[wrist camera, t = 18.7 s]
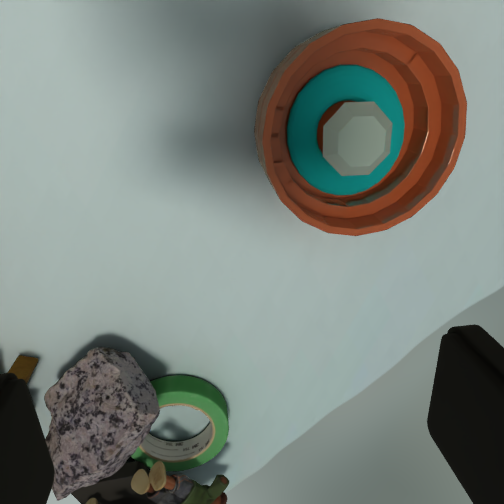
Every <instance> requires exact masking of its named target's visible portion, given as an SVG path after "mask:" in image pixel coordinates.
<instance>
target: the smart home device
mask: <svg viewBox="0 0 504 504" xmlns="http://www.w3.org/2000/svg"><path fill="white" fill-rule="evenodd" d="M139 469H144V470H145V472H146V473H147V475H148V477H149V473H150V471H149V470H148V468H147V467H146V466H145V465H144V464H143V463H142V462H140V461H134V462H129V463H125V464H124V465H123V466H122V467H121V468H120V469H119V470H118V471H117V472H116V473H114V474H113V475H112V476H110V477H106V478H103V479H100V480H99V481H98V482H97V483H96V484H94V485H90V486H87V487H82V488H80V489H78V490H75V491H73V492H72V493H71V494H72V495H73V496H74V497H75V498H76V499H77V500H78V501H79V502H80V503H81V504H86V503H87V501H88V500H89V499H91V498H96V499H97V501H98V504H157V503H155V502H153V501H152V500H151V499H149V498H148V497H147V495H146V493H144V494H139V493H137V492H135V491H134V490H133V489H132V487H131V481H132V478H133V476H134V474H135V473H136V472H137V471H138V470H139Z"/></svg>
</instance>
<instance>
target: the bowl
mask: <svg viewBox="0 0 504 504" xmlns="http://www.w3.org/2000/svg"><path fill="white" fill-rule="evenodd" d="M339 65H359V66H363V67H366V68H369V69H372V70H374V71H375V72H377V73H378V74H379V75H381V76H382V77H384V78H385V79H386V80H387V81H388V83H389V84H390V85H391V86H392V88H393V89H394V90H395V91H396V93H397V96H398V98H399V101H400V103H401V105H402V108H403V115H404V122H405V127H404V139H403V143H402V146H401V150H400V153H399V156H398V158H397V160H396V161H395V163H394V165H393V166H392V168H391V170H390V171H389V172H388V173H387V174H386V175H385V176H384V177H383V178H382V179H381V180H380V181H379V182H378V183H377V184H375V185H373V186H372V187H370V188H369V189H367V190H365V191H362V192H359V193H356V194H353V195H333V194H329V193H325V192H322V191H320V190H318V189H317V188H315V187H313V186H311V185H310V184H309V183H308V182H307V181H306V180H305V179H304V178H303V177H302V176H301V175H300V174H299V172H298V170H297V169H296V167H295V165H294V163H293V162H292V160H291V156H290V152H289V149H288V145H287V124H288V119H289V115H290V110H291V108H292V106H293V104H294V102H295V100H296V98H297V96H298V93H299V92H300V91H301V90H302V89H303V88H304V86H305V85H306V84H307V83H308V82H309V81H310V80H311V79H312V78H314V77H315V76H316V75H318V74H319V73H321V72H322V71H324V70H326V69H329V68H332V67H335V66H339ZM345 102H355V101H352V100H348V101H341V102H338V103H335V104H334V105H332V106H331V107H329V108H328V109H327V110H326V111H325V113H324V114H323V115H322V117H321V119H320V121H319V124H318V128H317V141H318V146H319V148H320V150H321V152H322V154H323V126H324V125H325V124H326V123H327V121H328V120H329V119H330V118H331V117H332V116H333V115H334V114H335V113H336V112H337V111H338V109H339V108H340V107H341V106H342V105H343V104H344V103H345ZM466 102H467V101H466V97H465V93H464V90H463V86H462V82H461V78H460V74H459V71H458V69H457V67H456V66H455V65H454V63H453V62H452V60H451V59H450V57H449V56H448V54H447V53H446V52H445V50H444V49H443V47H442V46H441V44H439V43H438V42H437V41H435V40H434V39H432V38H431V37H429V36H428V35H426V34H425V33H423V32H422V31H420V30H419V29H417V28H416V27H414V26H412V25H410V24H405V23H399V22H394V21H389V20H384V19H378V18H377V19H372V20H366V21H361V22H355V23H349V24H344V25H340V26H337V27H334V28H331V29H328V30H324V31H322V32H320V33H318V34H316V35H315V36H313V37H311V38H309V39H308V40H306V41H304V42H302V43H300V44H299V45H297V46H295V47H294V48H293V49H292V50H291V51H290V53H289V54H288V55H287V56H286V57H285V58H284V59H283V60H282V61H281V62H280V64H279V65H278V66H277V67H276V68H275V69H274V70H273V72H272V73H271V75H270V78H269V80H268V82H267V84H266V86H265V88H264V90H263V92H262V94H261V97H260V99H259V101H258V108H257V115H256V121H255V128H254V135H255V141H256V147H257V154H258V160H259V162H260V164H261V166H262V168H263V170H264V172H265V174H266V176H267V178H268V180H269V182H270V184H271V185H272V187H273V189H274V190H275V192H276V194H277V195H278V197H279V199H280V200H281V201H282V203H284V204H285V205H286V206H287V207H288V208H289V209H290V210H291V211H292V212H293V213H294V214H295V215H296V216H297V217H298V218H299V219H300V220H301V221H303V222H305V223H307V224H309V225H311V226H314V227H316V228H318V229H320V230H322V231H325V232H327V233H332V234H342V235H351V236H359V235H364V234H369V233H374V232H379V231H384V230H387V229H389V228H391V227H393V226H395V225H397V224H399V223H401V222H402V221H404V220H406V219H408V218H410V217H412V216H413V215H415V214H416V213H417V212H418V211H419V210H420V209H421V208H422V207H423V206H425V205H426V204H427V203H428V202H429V201H430V200H431V199H432V198H433V197H435V196H436V195H437V193H438V192H439V190H440V189H441V187H442V186H443V184H444V183H445V181H446V180H447V178H448V177H449V175H450V174H451V172H452V171H453V169H454V167H455V165H456V162H457V159H458V156H459V153H460V150H461V147H462V144H463V141H464V138H465V130H466V110H467V103H466Z"/></svg>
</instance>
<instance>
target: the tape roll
mask: <svg viewBox="0 0 504 504" xmlns="http://www.w3.org/2000/svg"><path fill="white" fill-rule="evenodd" d="M150 383H151V384H152V386H153V388H154V389H155V391H156V396H157V400H158V404H159V408H162V407H165V406H173V405H182V406H188V407H192V408H194V409H196V410H200V411H201V412H203V413H204V414H205V415H206V416H207V417H208V418H209V420H210V423H209V425H208V426H207V428H206V429H205V430H204V431H203V432H202V433H201V434H199V435H198V436H196V437H194V438H192V439H189V440H186V441H180V442H168V441H163V440H160V439H158V438H155V437H154V436H152V435H150V434H149V433H148V434H147V435H146V438H145V439H144V442H143V443H142V444H141V445H140V446H139V447H138V448H137V449H136V451H135V453H134V454H133V455H131V457H132V458H133V459H134V460H136V461H140V462H142V463H143V464H144V465H145V466H146V467H149V468H152V466H153V465H154V464H155V463H156V462H158V461H161V462H162V463H163V464H164V466H165V470H166V471H183V470H188V469H191V468H194V467H197V466H200V465H202V464H204V463H206V462H208V461H209V460H211V459H212V458H213V457H215V456H216V455H217V454H218V453H219V452H220V450H221V449H222V448H223V446H224V444H225V442H226V440H227V436H228V431H229V425H228V413H227V406H226V402H225V400H224V398H223V396H222V395H221V393H220V392H219V391H218V390H217V389H216V388H215V387H214V386H212V385H211V384H209V383H208V382H206V381H204V380H201V379H199V378H195V377H191V376H182V375H173V376H166V377H162V378H158V379H155V380H153V381H151V382H150Z"/></svg>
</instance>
